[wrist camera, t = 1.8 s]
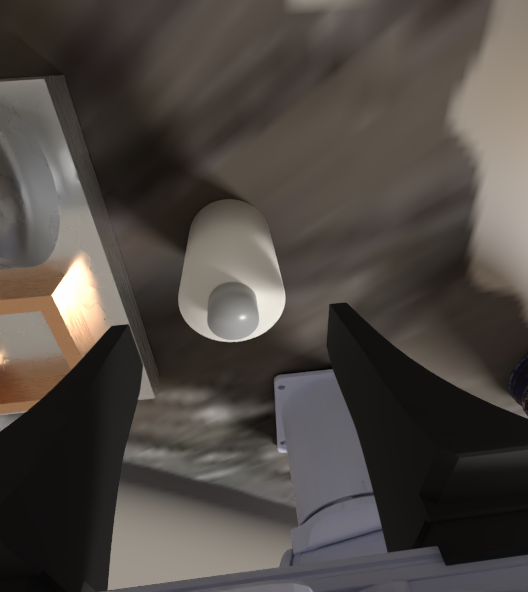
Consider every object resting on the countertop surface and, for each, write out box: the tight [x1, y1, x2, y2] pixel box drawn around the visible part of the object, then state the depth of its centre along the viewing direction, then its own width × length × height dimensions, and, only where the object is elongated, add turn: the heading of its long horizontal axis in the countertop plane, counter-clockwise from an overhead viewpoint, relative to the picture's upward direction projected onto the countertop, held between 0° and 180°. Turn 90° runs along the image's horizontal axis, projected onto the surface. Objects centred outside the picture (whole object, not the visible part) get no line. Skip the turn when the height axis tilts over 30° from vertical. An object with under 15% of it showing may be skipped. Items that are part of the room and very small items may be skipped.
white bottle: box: [178, 199, 285, 342], centre depth 17 cm, size 4×4×7 cm
